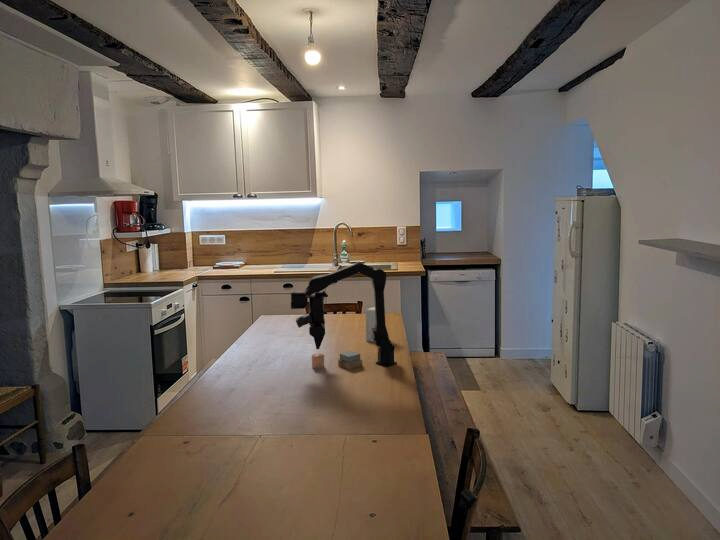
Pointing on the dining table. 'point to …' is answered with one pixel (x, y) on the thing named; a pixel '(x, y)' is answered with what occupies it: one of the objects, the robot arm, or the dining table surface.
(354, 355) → the grey block
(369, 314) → the skincare box
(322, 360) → the terracotta cylinder
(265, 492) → the dining table surface
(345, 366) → the walnut block
